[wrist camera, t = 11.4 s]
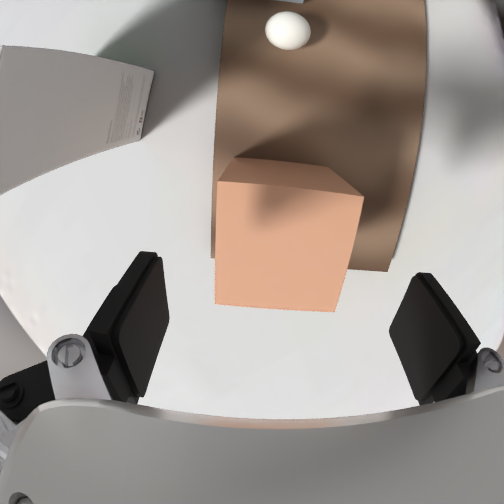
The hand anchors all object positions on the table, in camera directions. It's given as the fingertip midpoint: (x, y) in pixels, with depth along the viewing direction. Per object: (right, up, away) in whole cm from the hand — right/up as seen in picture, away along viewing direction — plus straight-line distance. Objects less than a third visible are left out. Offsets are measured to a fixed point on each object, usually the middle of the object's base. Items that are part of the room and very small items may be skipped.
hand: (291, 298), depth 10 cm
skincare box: (-14, +14, +9) cm, 22 cm away
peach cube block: (+1, +5, +12) cm, 13 cm away
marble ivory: (0, +16, +3) cm, 16 cm away
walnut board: (+4, +14, +8) cm, 17 cm away
